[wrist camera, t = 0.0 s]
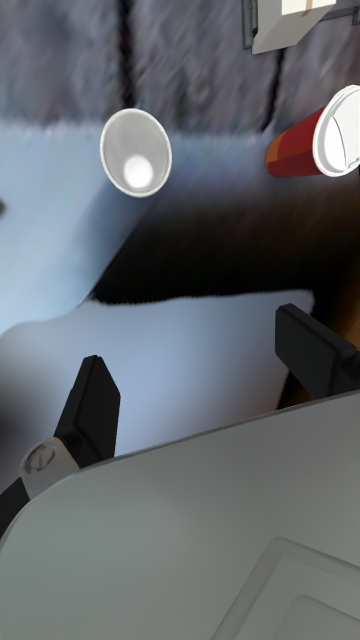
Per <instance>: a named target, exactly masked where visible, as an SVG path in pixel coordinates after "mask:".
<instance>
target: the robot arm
mask: <svg viewBox="0 0 360 640" xmlns="http://www.w3.org/2000/svg"><path fill="white" fill-rule="evenodd" d="M275 352H276V355H277V356H278V357H279V358H280V360H281V361H282V362H283V363H284V364H285V365H286V366H287V368H288V369H289V370H290V371H291V372H292V373H293V374H294V375H295V377H296V378H297V379H298V380H299V381H300V382H301V383H302V385H303V386H304V387H305V388H306V389H307V390H308V391H309V392H310V394H311V395H312V396H313V397H314V398H315V399H316V400H314V401H311V402H307V403H303V404H300V405H296V406H292V407H289V408H285V409H281V410H278V411H274V412H271V413H267V414H263V415H260V416H256V417H253V418H249V419H246V420H242V421H238V422H235V423H231V424H227V425H224V426H220V427H217V428H214V429H210V430H206V431H203V432H199V433H196V434H192V435H189V436H185V437H182V438H178V439H175V440H171V441H168V442H164V443H161V444H157V445H154V446H150V447H147V448H143V449H140V450H136V451H133V452H130V453H127V454H124V455H120V456H117V457H114V454H115V445H116V435H117V426H118V417H119V408H120V392H119V390H118V388H117V386H116V384H115V382H114V381H113V379H112V377H111V374H110V372H109V371H108V369H107V367H106V365H105V363H104V361H103V359H102V357H98V356H97V355H93V356H89V357H85V358H84V359H83V362H82V364H81V367H80V370H79V373H78V375H77V378H76V380H75V383H74V386H73V388H72V389H71V391H70V393H69V396H68V399H67V401H66V404H65V407H64V409H63V412H62V414H61V417H60V420H59V422H58V425H57V428H56V430H55V433H54V435H53V437H51V438H47V439H44V440H42V441H40V442H39V443H38V444H36V445H35V446H34V447H33V448H32V449H31V450H30V451H29V452H28V453H27V454H26V456H25V457H24V459H23V461H22V462H21V466H20V477H19V478H18V479H17V480H16V481H15V482H14V483H13V484H12V485H11V486H9V487H8V488H7V489H6V490H5V491H4V492H3V493H2V494H1V495H0V640H360V352H359V351H357V347H356V346H354V345H353V344H351V343H350V342H348V341H347V340H345V339H344V338H342V337H341V336H339V335H338V334H336V333H335V332H333V331H332V330H330V329H329V328H327V327H326V326H324V325H323V324H321V323H320V322H319V321H317V320H316V319H314V318H313V317H311V316H310V315H308V314H307V313H305V312H304V311H302V310H301V309H299V308H298V307H296V306H295V305H293V304H290V303H289V304H286V305H282V306H280V307H279V308H278V310H276V318H275Z"/></svg>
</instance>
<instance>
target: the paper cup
mask: <svg viewBox="0 0 360 640" xmlns="http://www.w3.org/2000/svg"><path fill="white" fill-rule="evenodd" d="M265 164H266V168H267V170H268V172H269V173H270V174H271V175H273V176H276V177H289V176H310V175H320V174H326V175H328V176H334V177H336V176H341V175H344V174H347V173H348V172H350V171H352V170H353V169H354V168H356V167H357V166H358V165H359V164H360V86H355V85H351V86H348V87H346V88H344V89H342V90H341V91H339V92H338V93H337V94H336V95H335V96H334V97H333V99H332V100H331V101H330V103H329V104H327V105H326V106H324V107H323V108H321V109H319V110H318V111H316V112H315V113H313V114H311V115H310V116H308V117H307V118H305V119H303V120H302V121H300V122H299V123H297V124H296V125H294V126H292V127H291V128H289V129H288V130H286V131H285V132H283V133H282V134H280V135H279V136H277V137H276V138H275V139H274V140H273V141H272V142H271V143H270V145H269V147H268V149H267V152H266V156H265Z"/></svg>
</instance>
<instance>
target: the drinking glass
mask: <svg viewBox="0 0 360 640" xmlns="http://www.w3.org/2000/svg"><path fill="white" fill-rule="evenodd" d="M100 156H101V161H102V165H103V167H104V170H105V172H106V174H107V176H108V177H109V179H110V180H111V181H112V183H113V184H114V185H115V186H116V187H117V188H118V189H119V190H120V191H121V192H123V193H124V194H126V195H128V196H131V197H134V198H146V197H150V196H152V195H154V194H155V193H157V192H158V191H159V190H160V189H161V188H162V187H163V185H164V184H165V182H166V180H167V178H168V176H169V173H170V170H171V164H172V151H171V146H170V142H169V139H168V136H167V134H166V132H165V130H164V129H163V127H162V126H161V124H160V123H159V122H158V121H157V120H156V119H155V118H154V117H153V116H151V115H150V114H148V113H147V112H145V111H142V110H139V109H124V110H121V111H119V112H117V113H116V114H114V115H113V116H112V117H111V118H110V119H109V120H108V121H107V123H106V125H105V126H104V129H103V131H102V134H101V139H100Z"/></svg>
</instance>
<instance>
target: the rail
mask: <svg viewBox="0 0 360 640" xmlns="http://www.w3.org/2000/svg"><path fill="white" fill-rule="evenodd" d="M350 14H354V15H353V23H352V25H356V24H360V0H336V4H335V5H334V6H333V7H332V8H331V9H330V10H329V11H328V12H327V13H326V14H325V15H324V16H323V17H322V18H321V19H320V20H319V21H323V20H328V19H332V18H337V17H341V16H346V15H350ZM242 23H243V48H244V49H248V48H251V47H252V45H253V44H254V41H253V36H255V35H257V33H258V0H242Z"/></svg>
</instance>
